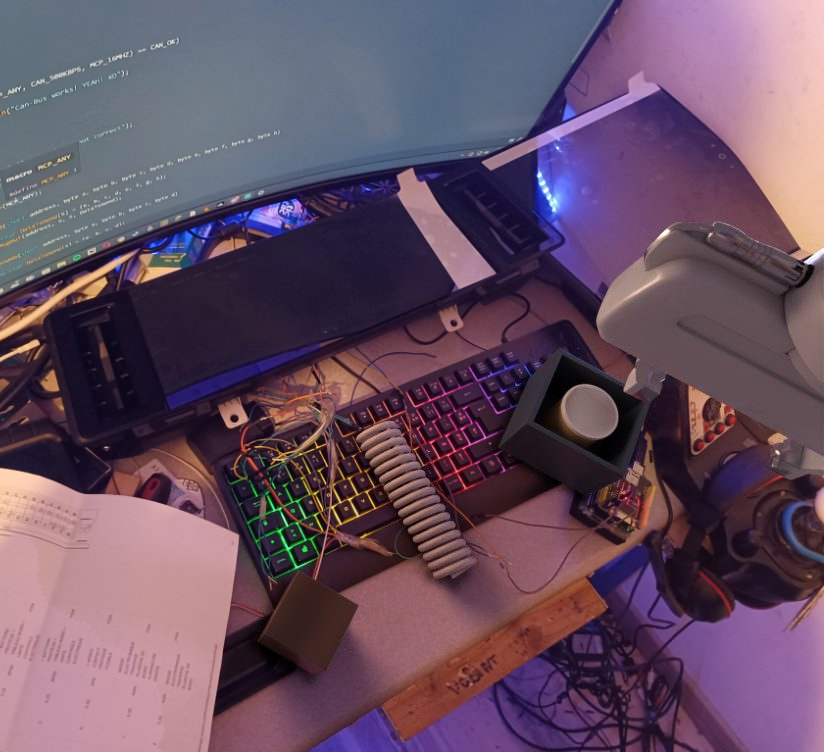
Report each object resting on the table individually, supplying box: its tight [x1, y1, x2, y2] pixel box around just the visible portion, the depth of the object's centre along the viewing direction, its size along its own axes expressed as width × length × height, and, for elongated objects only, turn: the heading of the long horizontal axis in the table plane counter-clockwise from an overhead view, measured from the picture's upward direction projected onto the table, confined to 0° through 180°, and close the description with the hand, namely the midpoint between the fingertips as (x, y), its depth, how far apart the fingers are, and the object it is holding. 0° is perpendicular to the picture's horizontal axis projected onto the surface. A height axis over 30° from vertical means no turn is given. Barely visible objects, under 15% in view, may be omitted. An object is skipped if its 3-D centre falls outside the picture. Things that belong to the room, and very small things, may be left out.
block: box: [257, 570, 360, 674], centre depth 66 cm, size 6×6×11 cm
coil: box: [355, 420, 477, 580], centre depth 76 cm, size 5×5×18 cm
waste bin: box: [498, 348, 653, 497], centre depth 79 cm, size 11×10×9 cm
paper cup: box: [536, 384, 618, 449], centre depth 79 cm, size 6×6×8 cm
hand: (706, 425), depth 44 cm, fingers open, 8 cm apart
